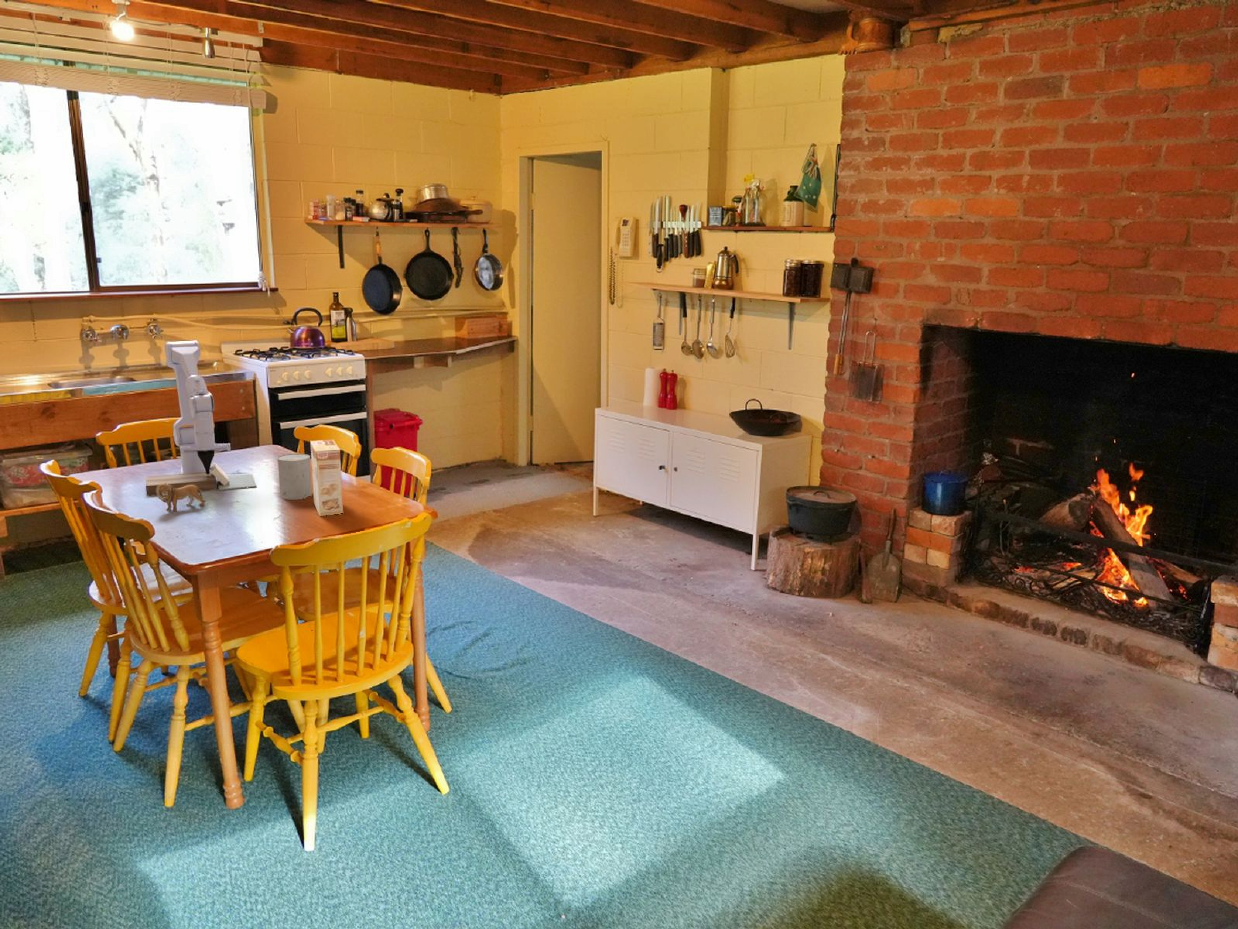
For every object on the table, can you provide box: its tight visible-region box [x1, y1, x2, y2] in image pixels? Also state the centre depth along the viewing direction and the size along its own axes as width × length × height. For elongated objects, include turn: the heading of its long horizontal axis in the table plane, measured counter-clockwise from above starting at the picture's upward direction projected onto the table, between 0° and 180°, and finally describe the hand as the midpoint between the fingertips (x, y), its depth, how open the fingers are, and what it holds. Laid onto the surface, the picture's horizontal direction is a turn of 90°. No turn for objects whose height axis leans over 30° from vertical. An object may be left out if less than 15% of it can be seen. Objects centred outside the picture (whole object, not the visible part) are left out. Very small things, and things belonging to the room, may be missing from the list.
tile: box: [210, 462, 229, 485], centre depth 300 cm, size 8×6×2 cm
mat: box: [216, 473, 257, 491], centre depth 303 cm, size 16×11×1 cm
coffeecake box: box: [310, 439, 344, 517], centre depth 275 cm, size 15×7×20 cm, turn 23°
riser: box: [145, 471, 218, 496], centre depth 296 cm, size 12×20×3 cm, turn 115°
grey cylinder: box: [277, 453, 313, 501], centre depth 289 cm, size 10×10×12 cm
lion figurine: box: [156, 483, 207, 513], centre depth 274 cm, size 15×5×9 cm, turn 147°
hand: (207, 473), depth 299 cm, fingers closed
